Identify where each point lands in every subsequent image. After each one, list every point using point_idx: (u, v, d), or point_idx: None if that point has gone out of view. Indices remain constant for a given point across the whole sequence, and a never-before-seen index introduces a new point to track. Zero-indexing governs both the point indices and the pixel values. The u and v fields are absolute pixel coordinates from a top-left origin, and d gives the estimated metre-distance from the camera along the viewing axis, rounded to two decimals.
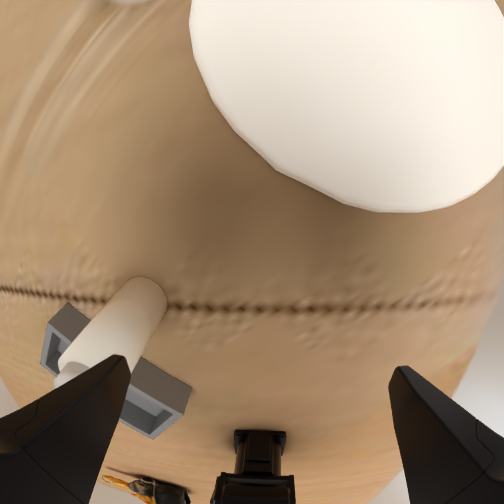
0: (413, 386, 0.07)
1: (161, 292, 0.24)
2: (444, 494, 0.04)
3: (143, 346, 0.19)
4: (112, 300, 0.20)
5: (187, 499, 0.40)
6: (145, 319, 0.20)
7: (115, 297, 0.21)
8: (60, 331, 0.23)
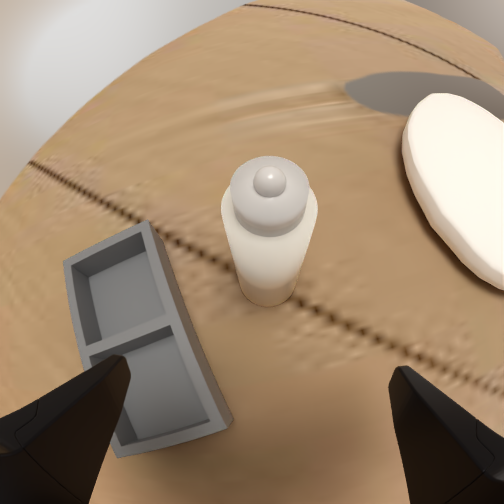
0: (413, 386, 0.07)
1: None
2: (445, 495, 0.04)
3: (297, 270, 0.18)
4: None
5: None
6: None
7: None
8: (152, 237, 0.21)
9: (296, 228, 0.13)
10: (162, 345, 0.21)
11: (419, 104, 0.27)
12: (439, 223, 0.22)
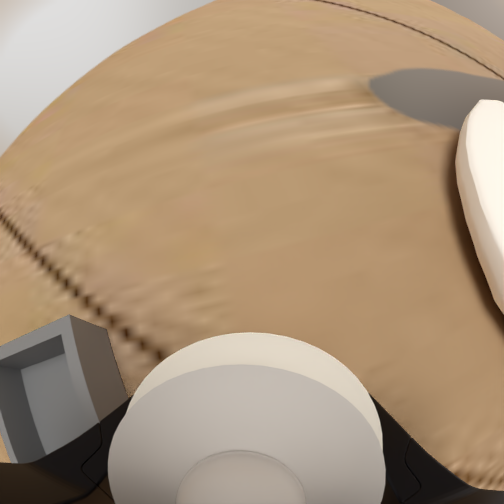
0: None
1: None
2: None
3: None
4: None
5: None
6: None
7: None
8: (77, 346, 0.12)
9: None
10: None
11: (473, 114, 0.17)
12: None
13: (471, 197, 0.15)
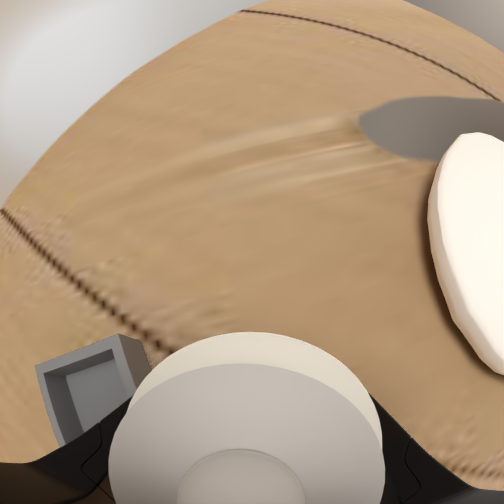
0: None
1: None
2: None
3: None
4: None
5: None
6: None
7: None
8: (125, 356, 0.17)
9: None
10: None
11: (449, 152, 0.22)
12: (463, 320, 0.18)
13: (436, 234, 0.20)
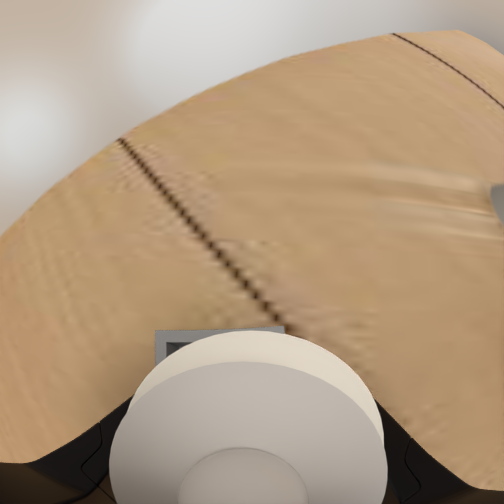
0: None
1: None
2: None
3: None
4: None
5: None
6: None
7: None
8: None
9: None
10: None
11: None
12: None
13: None
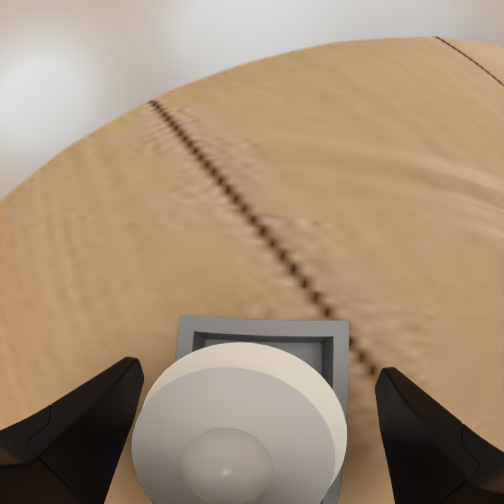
0: (398, 388, 0.07)
1: None
2: (429, 500, 0.04)
3: None
4: None
5: None
6: None
7: None
8: None
9: None
10: None
11: None
12: None
13: None
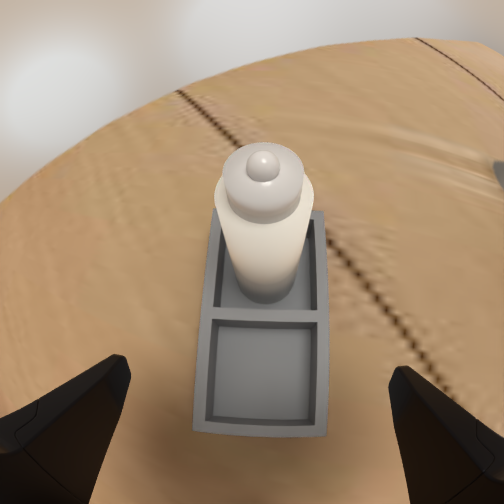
0: (413, 386, 0.07)
1: None
2: (444, 495, 0.04)
3: (295, 264, 0.17)
4: None
5: None
6: None
7: None
8: None
9: (291, 215, 0.13)
10: (286, 335, 0.21)
11: None
12: None
13: None
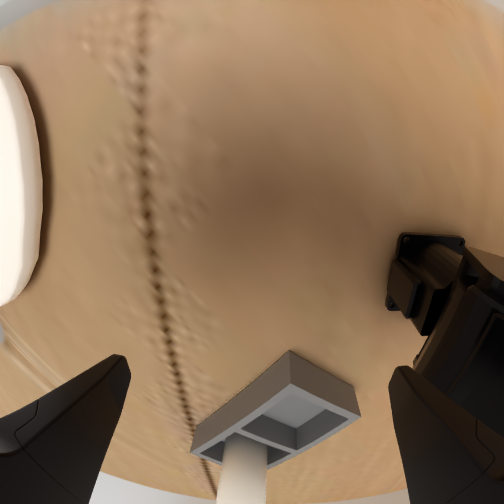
0: (413, 386, 0.07)
1: None
2: (444, 494, 0.04)
3: (236, 468, 0.21)
4: None
5: None
6: (226, 459, 0.23)
7: None
8: (197, 447, 0.25)
9: None
10: None
11: None
12: (30, 259, 0.20)
13: (9, 301, 0.21)
